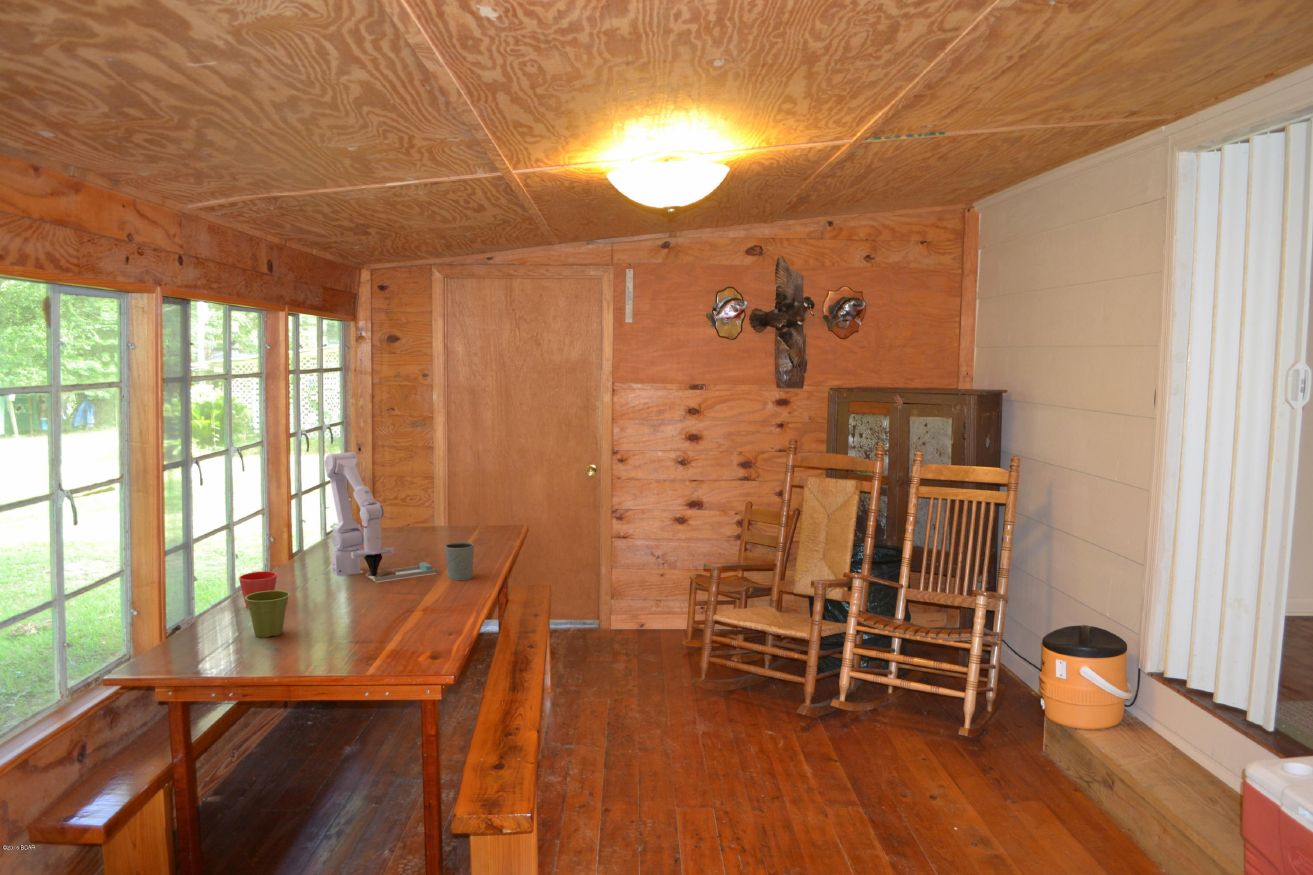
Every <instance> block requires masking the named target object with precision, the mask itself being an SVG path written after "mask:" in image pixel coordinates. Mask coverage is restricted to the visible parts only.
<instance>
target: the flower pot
mask: <svg viewBox="0 0 1313 875" xmlns="http://www.w3.org/2000/svg"><path fill="white" fill-rule="evenodd" d="M277 577H278V575H277V573H276V572H273V571H268V570H267V571H265V570H263V571H254V572H250V573H249V572H248V573H245V574H242V575H240V576H239V577H238V581H239V584H240V588H241V593H242V596H243V601H244V603H245V607H246V608H247V609H249V607H248V603H247V600H245V597H246V596H247V595H249V594H252V593H256V592H262V591H273V590H276V584H277Z"/></svg>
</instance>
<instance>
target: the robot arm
mask: <svg viewBox="0 0 1313 875" xmlns="http://www.w3.org/2000/svg"><path fill="white" fill-rule="evenodd" d="M356 455H357V454H355V452H353V451H349V452H343V453H342V452H340V453H338V452H337V453H328V454H327V456H326V457H325V460H324V462H323V464H324V469H325V473H326V476H327V478H328V479H329V482H330V485H331V486H330V487H331V492H332V496H333V502H334V508H335V512H336V518H337V521H338V522H337V523H338V524H337V525H336V526H335V527H334V528H333V530H332V544H333V547H335V549H336V550H333V551H331V552H332V553H331V573H332V574H334V575H335V576H337V577H341V576H348V575H356V574H363V573H364V571H363V570H361V558H364V560H365V562H366V564H367V567H368V569H369V572H370V574H371V576H376V575H377V571H378V569H379V566H380V564H381V562H382V560H383V556H382V555H388V554H395V547H394V546H391V547H382V531H381V529H382V527H381V519H383V517H384V513H385V511H384V507H383V505H382V503H380V502H378V501H379V500H378V501H377V500H376V499H375V497H374V494H372V492H371V490H370V488H369V487H368V486H366V485H364V483H363V480H362V477H361V475H360V473H359V470H358V464H359V460H358V458H357V456H356ZM346 479H347V481H348V482H349V484H350V486H351V487H352V488H353V490H354V491H353V493H352V494H353V497H354V499H355V501H356V504H357V505H358V507H359V509H360V512H359V516H360V519H361V524H362V526H363V530H362V527H361V525H360V524H359V523H357V522H356V521H354V518H353V512H352V507H351V502H350V497H349V492H348V488H347V486H348V485H347V481H346ZM362 546H364V548H363V549H362ZM360 549H361V550H360Z"/></svg>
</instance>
